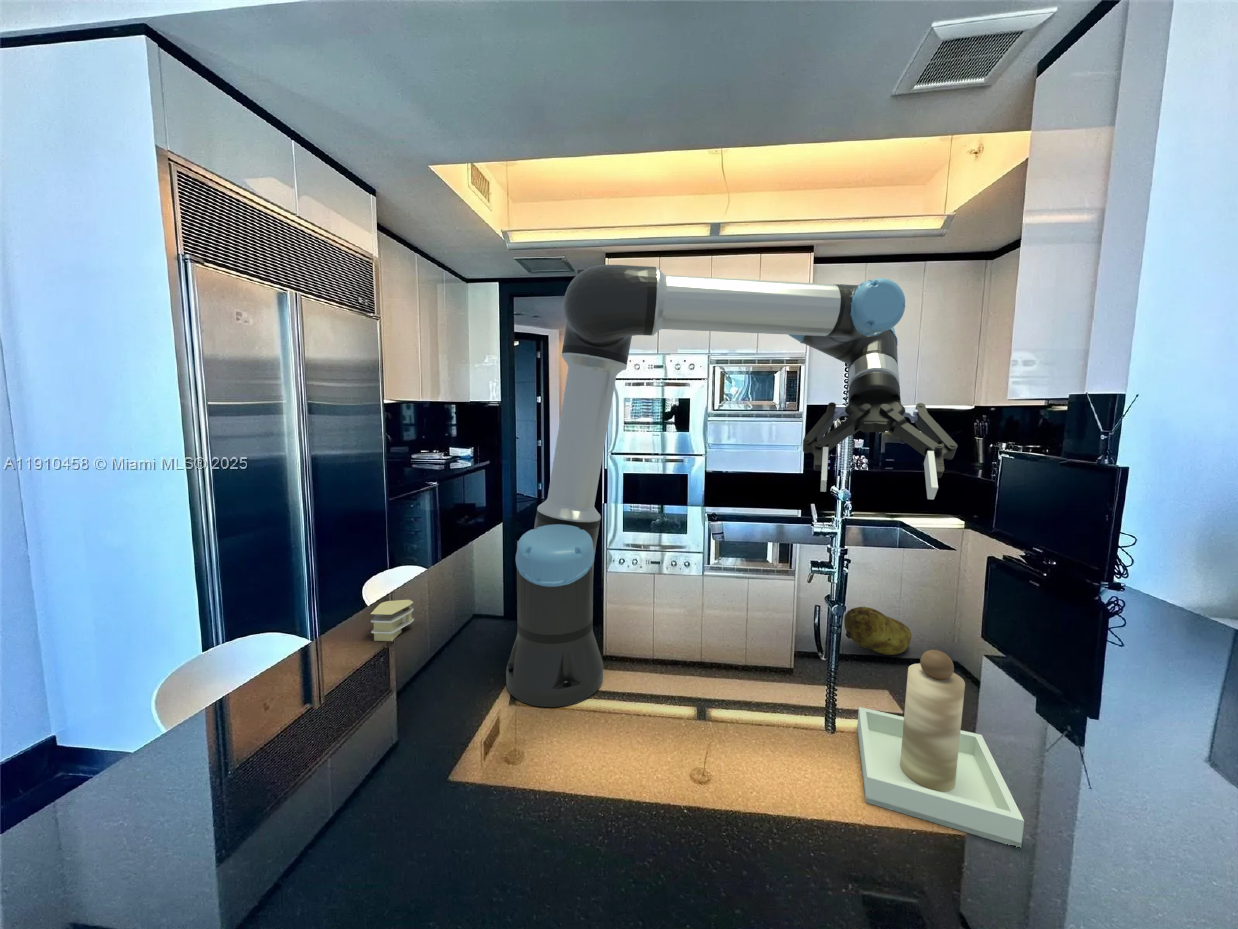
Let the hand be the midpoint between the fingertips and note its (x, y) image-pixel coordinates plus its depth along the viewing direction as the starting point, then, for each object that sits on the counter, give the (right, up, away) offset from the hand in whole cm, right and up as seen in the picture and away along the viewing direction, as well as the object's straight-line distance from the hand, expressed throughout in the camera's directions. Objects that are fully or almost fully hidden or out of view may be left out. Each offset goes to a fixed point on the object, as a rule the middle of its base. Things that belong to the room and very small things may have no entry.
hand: (875, 489), depth 67 cm
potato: (+11, -30, +19) cm, 37 cm away
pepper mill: (0, -32, -12) cm, 34 cm away
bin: (0, -33, -11) cm, 35 cm away
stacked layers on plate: (-79, -29, +23) cm, 87 cm away
